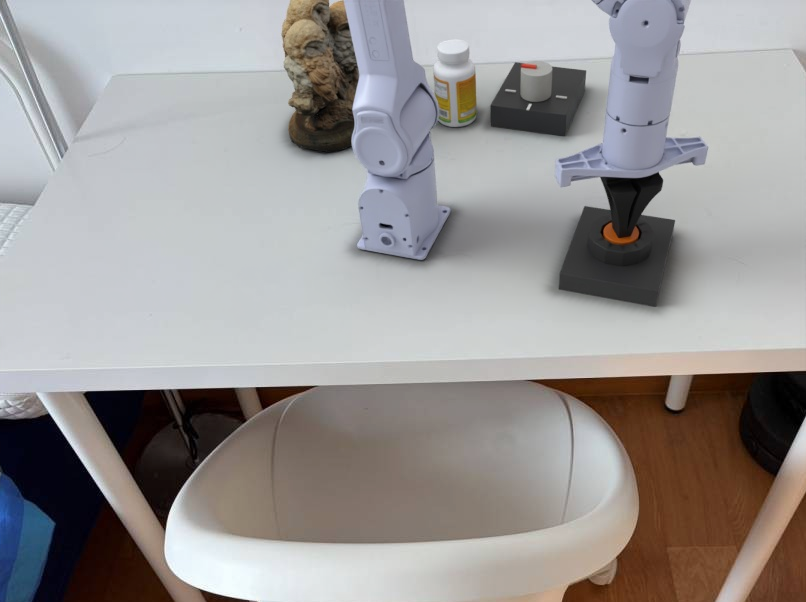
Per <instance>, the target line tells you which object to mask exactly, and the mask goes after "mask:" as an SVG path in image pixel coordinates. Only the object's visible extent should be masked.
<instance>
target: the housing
mask: <svg viewBox="0 0 806 602" xmlns="http://www.w3.org/2000/svg"><path fill="white" fill-rule="evenodd" d="M609 223H612V218H611V211H610V209H606V208H600V207H593V206H588V205H584V206H583V209H582V212H581V215H580V217H579V220H578V221H577V225H576V228H575V229H574V230H575V231H574V232H573V235H572V239H571V241H570V245H569V247H568V249H567V253H566V254H565V255H566V256H565V257H564V260H563V263H562V266H561V269H560V272H559V276H558V277H559V278H558V290H560V291H566V292H572V293H578V294H583V295H587V296H593V297H598V298H604V299H610V300H615V301H621V302H626V303H631V304H636V305H643V306H648V307H654V308H655V307H657V302H658V300H659V299H658V298H659V295H660V289H661V287H662V286H661V285H662V281H663V277H664V273H665V268H666V264H667V261H668V256H669V251H670V247H671V243H672V239H673V234H674V230H675V224H676V220H675V219H671V218H665V217H659V216H652V215H645V214H641V216H640V218H639V220H638V222H637V224H636V227H637V229H638V231H639V236H638V241H636V242H635V243H633V244H627V245H619V244H612V243H611V242H609V241H607V240H605V239H604V238H603V232H604V228H605V227H606V226H607V225H608V224H609Z"/></svg>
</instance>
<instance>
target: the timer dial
mask: <svg viewBox="0 0 806 602" xmlns="http://www.w3.org/2000/svg"><path fill="white" fill-rule="evenodd" d="M521 63H522V65H521V87H520V95H521V97H522V98H523V99H525V100H527V101H531V102H540V101H544V100H547V99H548V98H550V96H551V88H552V65H551V64H550V63H548V62H546V61H542V60H532V61H528V62H521ZM523 63H525V64H523Z"/></svg>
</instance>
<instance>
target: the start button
mask: <svg viewBox="0 0 806 602" xmlns="http://www.w3.org/2000/svg"><path fill="white" fill-rule="evenodd" d="M638 236H639V231H638V229H637V227H636V226H635V228H634V230H633V232H632V234H631V236H629V237H624V238H618V237H617V235H616V233H615V231H614V230H613V228H612V223H609V224H608V225H607V226H606V227H605V228H604V232H603V238H604V239H605V240H607V241H609V242H611V243H612V244H619V245H627V244H633V243H635V242H636V241H638Z"/></svg>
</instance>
